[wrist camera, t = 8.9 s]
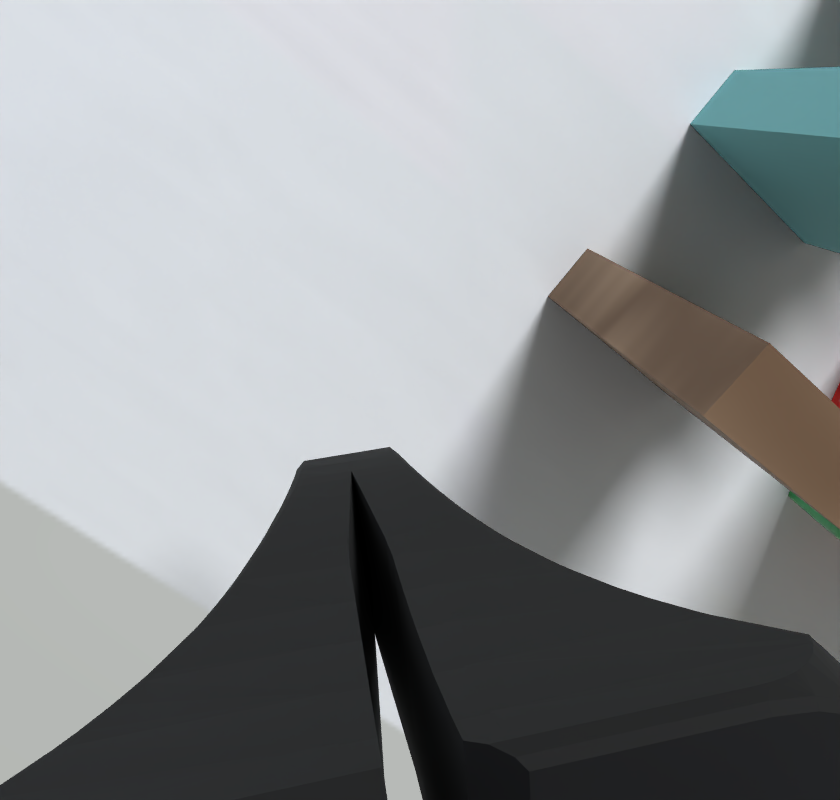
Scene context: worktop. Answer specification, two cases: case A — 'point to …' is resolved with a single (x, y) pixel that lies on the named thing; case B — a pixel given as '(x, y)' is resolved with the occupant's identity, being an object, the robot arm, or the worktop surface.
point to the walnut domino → (715, 375)
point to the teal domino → (783, 143)
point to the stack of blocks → (839, 401)
